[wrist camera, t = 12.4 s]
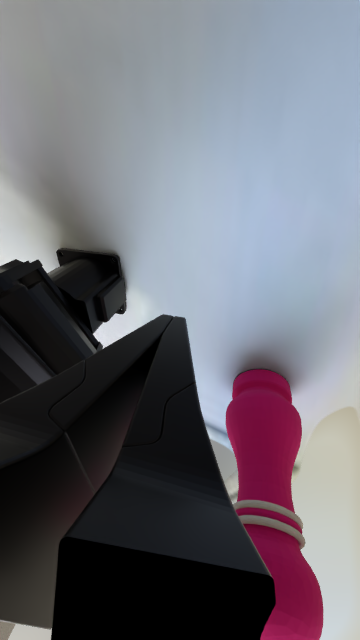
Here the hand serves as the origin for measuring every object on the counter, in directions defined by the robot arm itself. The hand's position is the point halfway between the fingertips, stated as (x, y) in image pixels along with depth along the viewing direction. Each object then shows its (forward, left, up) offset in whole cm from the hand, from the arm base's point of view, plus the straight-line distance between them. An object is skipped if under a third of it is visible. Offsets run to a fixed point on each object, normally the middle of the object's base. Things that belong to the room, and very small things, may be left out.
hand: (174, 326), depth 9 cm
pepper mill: (+7, -17, -13) cm, 23 cm away
